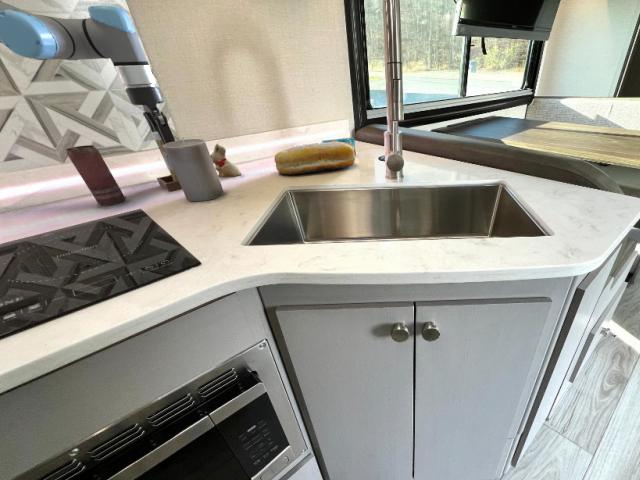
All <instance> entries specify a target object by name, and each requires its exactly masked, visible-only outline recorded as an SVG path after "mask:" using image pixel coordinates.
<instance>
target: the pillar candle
mask: <svg viewBox="0 0 640 480" xmlns="http://www.w3.org/2000/svg"><path fill="white" fill-rule="evenodd" d="M162 147H164V150H165V152H166V154H167V156H168V159H169V161H170V163H171V165H172V168H173V170H174V172H175V174H176V176H177V179H178V181H179V183H180V185H181V187H182V189H181V190H182V192H183V194H184V196H185V198H186V200H187V201H189V202H206V201H211V200H215V199H217V198H220V197H221V196H222V195H224V193H225V191H224V189H223V185H222V184H221V180H220V178H219V177H220V176H219V173H218V171H217V170H216V167H215V164H214V163H213V161H212V159H211V156H210V155H211V154H210V151H209V149H208V145H207V143H206V141H205V139H201V138H188V139H185V138H184V136H182V139H180V140H175V141H173V142H169V143H166V144H164V145H162Z"/></svg>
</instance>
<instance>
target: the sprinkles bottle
mask: <svg viewBox="0 0 640 480" xmlns="http://www.w3.org/2000/svg"><path fill="white" fill-rule="evenodd" d="M151 136H152V138H153V140H154V141H155V143H156V145H157V147H158V150H159V151H160V154H161V156H162V158H163V161H164V163H165V165H166V167H167V169H168V171H169V173H170V175H171V176H172V178H173V181H178V179H177V176H176V174H175V172H174V170H173V168H172V165H171V163H170V161H169V159H168V158H167V157H166V156H167V154H166V152H165V150H164V147H162V145H164V144H163V142H162V140H161V138H160V136H159V134H158V132H157V131H156V132H152V131H151Z"/></svg>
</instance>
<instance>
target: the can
mask: <svg viewBox="0 0 640 480" xmlns="http://www.w3.org/2000/svg"><path fill="white" fill-rule="evenodd" d="M66 155H67V156H68V158H69V160H70V162H71V163H72V164H73V166H74V167H75V169H76V171H77V172H78V174H79V176H80V178H81V179H82V180H83V182H84V183H85V185H86V187H87V189H88V190H89V191H90V193H91V194H92V196H93V198H94V199H95V201H96V203H97V204H98V205H100V206H102V207H110V206H115V205H119V204H122V203H123V202H125V200H126V197H125V195H124V193H123V191H122V189H121V188H120V186H119V184H118V182H117V181H116V179H115V177H114V176H113V174H112V171H111V169H110V168H109V167H108V165H107V163H106V161H105V160H104V158H103V156H102V155H101V152H100V151H99V149H98V148H97V147H95V146H94V145H93V144H92V145H91V144H89V145H88V144H87V145H86V144H85V145H78V146H72V147H68V148H66Z"/></svg>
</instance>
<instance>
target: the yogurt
mask: <svg viewBox="0 0 640 480" xmlns="http://www.w3.org/2000/svg"><path fill="white" fill-rule="evenodd" d="M323 142H324V143H327V142H343V143H347V144H349V145H350V146H351V147H352V148H353V149H354V155H355V156H357V151H356V140H355V138H354V137H351V136H350V137H341V138H332V139H322V140H321V143H323Z"/></svg>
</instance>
